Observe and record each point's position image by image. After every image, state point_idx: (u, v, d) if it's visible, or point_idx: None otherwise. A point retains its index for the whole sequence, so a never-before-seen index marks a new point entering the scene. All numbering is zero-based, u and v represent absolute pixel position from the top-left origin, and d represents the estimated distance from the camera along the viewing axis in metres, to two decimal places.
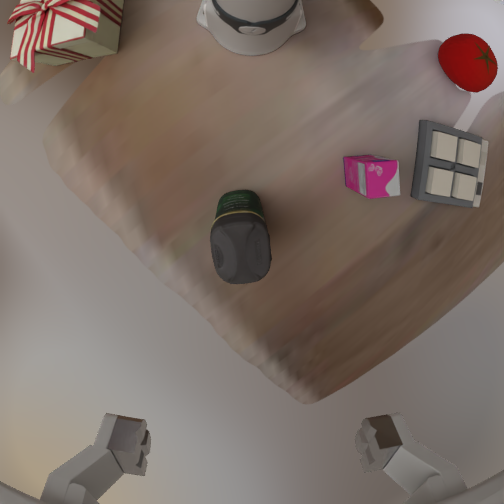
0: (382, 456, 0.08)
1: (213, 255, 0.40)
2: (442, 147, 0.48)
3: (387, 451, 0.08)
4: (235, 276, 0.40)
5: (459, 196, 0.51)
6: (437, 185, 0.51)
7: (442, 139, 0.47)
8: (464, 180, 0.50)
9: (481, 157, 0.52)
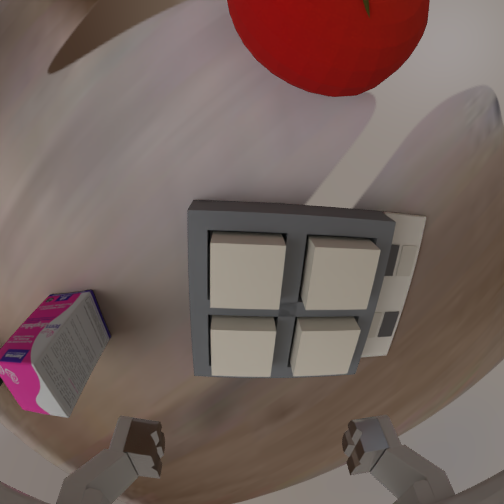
0: (368, 459, 0.08)
1: None
2: (229, 281, 0.22)
3: (373, 454, 0.08)
4: None
5: (302, 372, 0.25)
6: (227, 361, 0.25)
7: (227, 261, 0.21)
8: (316, 342, 0.24)
9: (400, 260, 0.26)
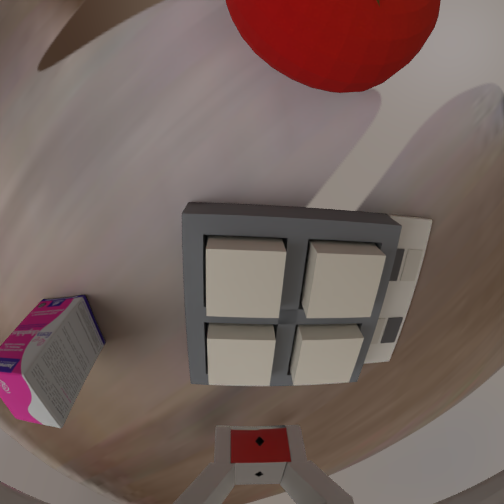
0: (270, 470, 0.08)
1: None
2: (226, 289, 0.20)
3: (273, 466, 0.08)
4: None
5: (303, 381, 0.24)
6: (225, 370, 0.23)
7: (223, 268, 0.20)
8: (317, 351, 0.23)
9: (404, 264, 0.25)
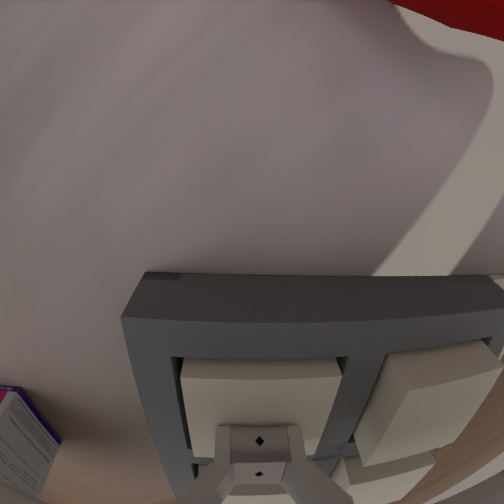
0: (270, 470, 0.08)
1: None
2: None
3: (273, 466, 0.08)
4: None
5: None
6: None
7: (218, 405, 0.09)
8: (368, 489, 0.11)
9: None
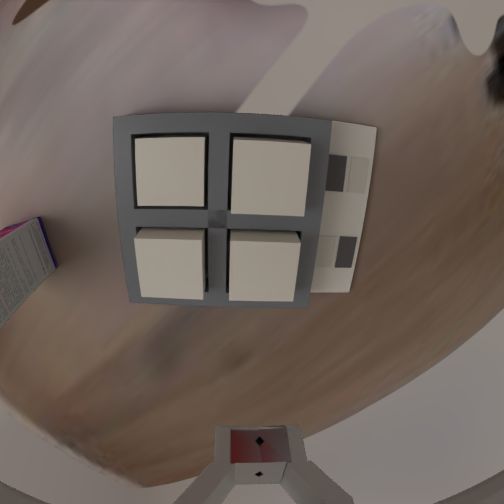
0: (270, 470, 0.08)
1: None
2: (153, 176, 0.21)
3: (273, 466, 0.08)
4: None
5: (239, 295, 0.24)
6: (155, 277, 0.23)
7: (150, 155, 0.21)
8: (248, 256, 0.23)
9: (350, 173, 0.24)
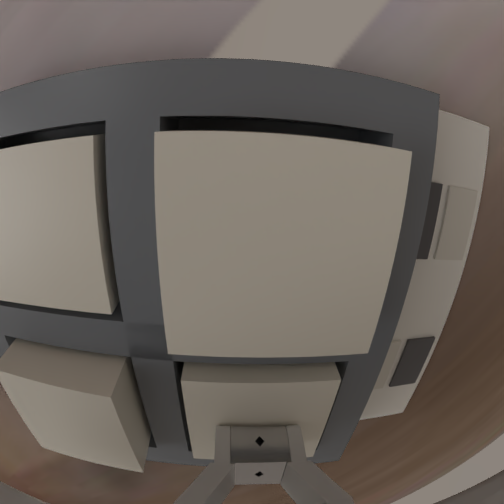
0: (270, 470, 0.08)
1: None
2: (3, 241, 0.07)
3: (273, 466, 0.08)
4: None
5: (211, 454, 0.11)
6: (50, 432, 0.09)
7: None
8: (225, 406, 0.09)
9: (443, 221, 0.10)
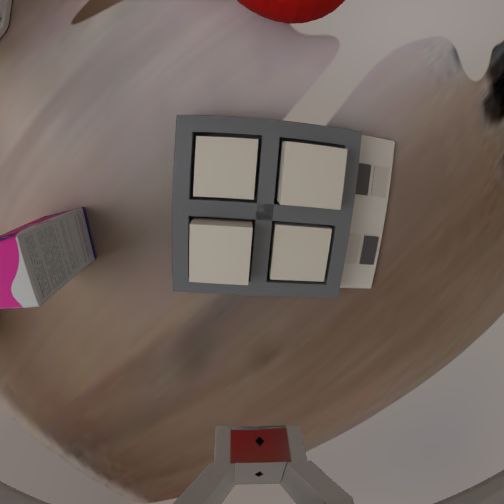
0: (270, 470, 0.08)
1: None
2: (210, 170, 0.25)
3: (273, 466, 0.08)
4: None
5: (279, 274, 0.28)
6: (205, 262, 0.26)
7: (209, 151, 0.24)
8: (290, 239, 0.27)
9: (373, 180, 0.28)
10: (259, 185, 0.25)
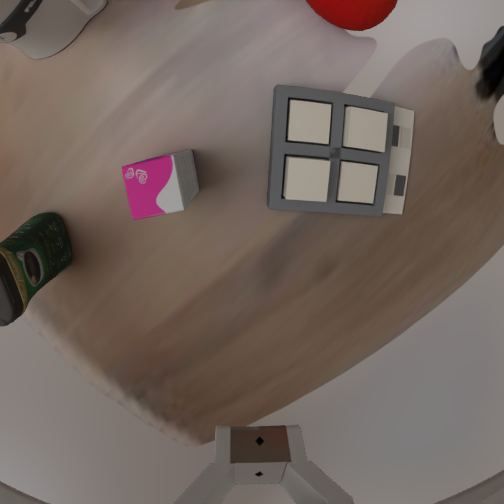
0: (270, 470, 0.08)
1: None
2: (300, 123, 0.35)
3: (273, 466, 0.08)
4: None
5: (344, 197, 0.38)
6: (298, 185, 0.36)
7: (299, 111, 0.34)
8: (351, 171, 0.37)
9: (401, 136, 0.38)
10: (332, 134, 0.36)
